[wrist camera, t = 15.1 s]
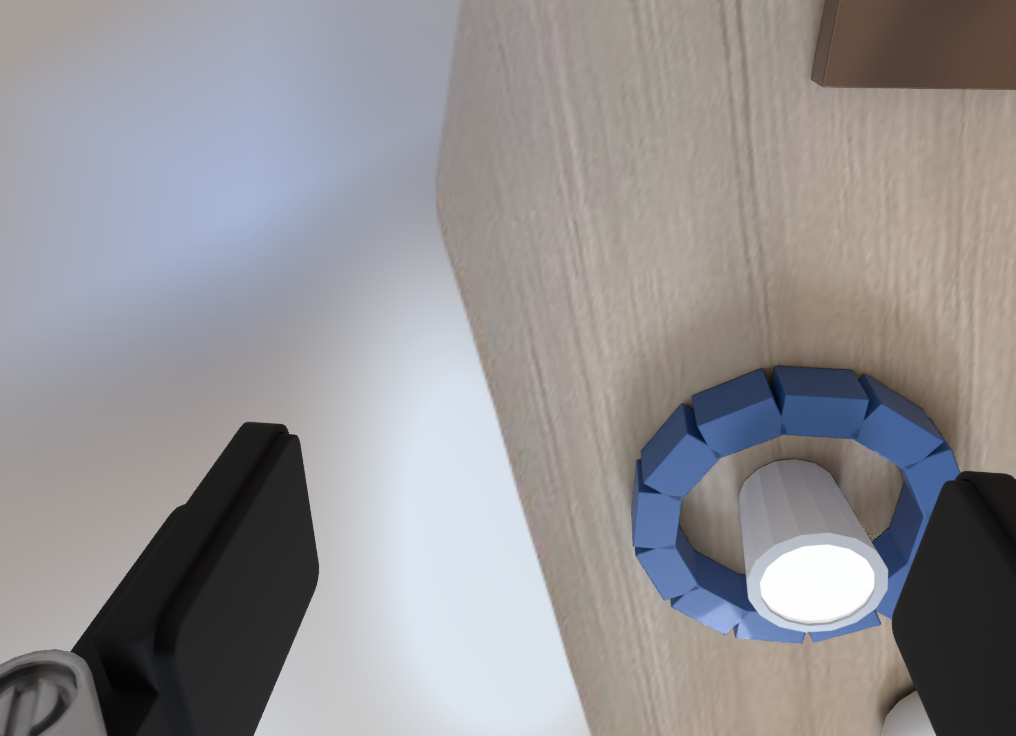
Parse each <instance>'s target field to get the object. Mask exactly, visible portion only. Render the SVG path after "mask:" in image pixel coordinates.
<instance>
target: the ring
mask: <svg viewBox="0 0 1016 736" xmlns="http://www.w3.org/2000/svg"><path fill="white" fill-rule="evenodd" d="M692 401H693V406H694V410H693V409H691V408H689V407H688V406H686V405H684V404H681V405H680V407H679V408H678V409H677V410H676V411H675V412H674V414H673V415H672V416H671V417H670V418H669V419H668V421H667V422H666V423H665V424H664V425H663V426H662V428H661V429H660V430H659V431H658V432H657V433H656V435H655V436H654V437H653V438H652V439H651V440H650V442H649V443H648V444H647V445H646V446H645V447H644V449H643V450H642V451H641V459H642V461H641V460H637V461H636V471H635V481H634V491H633V501H632V511H631V517H632V540H633V547H635V556H636V557H637V559H638V560H639V562H640V563H641V565H642V567H643V568H644V570H645V571H646V573H647V575H648V576H649V578H650V579H651V581H652V582H653V584H654V586H655V587H656V589H657V590H658V592H659V593H660V595H661V597H662V598H663V600H667V599H670V600H671V607H672V608H674V609H676V610H678V611H680V612H682V613H684V614H685V615H687V616H689V617H691V618H693V619H695V620H697V621H699V622H701V623H703V624H705V625H707V626H708V627H710V628H712V629H714V630H716V631H718V632H720V633H722V634H724V635H726V634H727V633H728V632H729V631H730V630H731V629H732V628H734V634H735V638H742V639H754V640H765V641H777V642H788V643H800V644H802V643H803V639H804V636H805V632H801V631H796V630H791V629H787V628H782V627H779V626H777V625H776V624H774V623H772V622H770V621H769V620H767V619H765V618H764V617H762V616H760V615H759V613H758V612H757V610H756V609H755V608H754V606H753V605H752V603H751V602H750V601H749V599H748V590H747V580H746V575H738V574H736V573H735V572H733V571H731V570H729V569H727V568H725V567H723V566H722V565H720V564H718V563H716V562H714V561H712V560H710V559H709V558H707V557H705V556H703V555H701V554H699V553H697V552H696V551H694V550H693V548H692V546H691V545H690V543H689V541H688V539H687V538H686V536H685V534H684V533H683V531H682V529H681V528H680V526H679V518H680V511H681V504H682V498H683V497H684V496H685V495H686V494H687V493H688V492H689V491H690V490H691V489H692V488H693V487H694V486H695V485H696V483H697V482H698V481H699V480H700V479H701V478H702V477H703V476H704V475H705V474H706V473H707V472H708V471H709V470H710V469H711V467H712V466H713V465H714V464H715V463H716V462H717V461H718V460H719V459H720V458H722V457H725V456H727V455H730V454H733V453H735V452H738V451H741V450H744V449H746V448H749V447H752V446H754V445H757V444H760V443H763V442H765V441H768V440H771V439H774V438H776V437H779V436H782V435H796V436H813V437H829V438H846V439H854V440H855V441H857V442H859V443H860V444H862V445H864V446H865V447H867V448H869V449H871V450H872V451H874V452H876V453H877V454H879V455H881V456H882V457H884V458H886V459H887V460H889V461H891V462H893V463H894V464H896V465H898V468H899V470H900V473H901V475H902V477H903V480H904V485H903V488H902V491H901V495H900V498H899V501H898V504H897V507H896V510H895V513H894V516H893V519H892V523H891V526H890V528H889V529H888V530H887V531H885V532H884V533H883V534H882V535H881V536H880V537H878V538H877V539H876V540H875V541H874V542H872V544H873V545H874V547H875V549H876V550H877V552H878V554H879V555H880V557H881V559H882V560H883V562H884V564H885V565H886V567H887V569H888V590H887V591H886V593H885V595H884V596H883V598H882V600H881V601H880V603H879V604H878V606H877V608H876V609H874V610H873V611H871V612H870V613H869V614H867V615H866V616H865V617H863V618H862V619H860V620H859V621H858V622H856V623H853V624H850V625H847V626H844V627H841V628H838V629H835V630H832V631H819V632H808V633H809V635H810V637H811V639H812V640H813V642H818V641H822V640H826V639H830V638H833V637H837V636H841V635H844V634H848V633H852V632H856V631H859V630H863V629H867V628H870V627H874V626H878V625H881V622H880V620H879V617H878V615H877V612H879V613H880V614H882V615H884V616H886V617H888V618H889V619H892V615H893V612H894V609H895V606H896V604H897V601H898V598H899V596H900V593H901V591H902V588H903V586H904V583H905V580H906V578H907V575H908V573H909V570H910V568H911V565H912V562H913V560H914V557H915V555H916V552H917V550H918V547H919V544H920V542H921V539H922V537H923V534H924V532H925V529H926V526H927V524H928V521H929V519H930V516H931V514H932V511H933V508H934V506H935V503H936V501H937V498H938V496H939V493H940V490H941V488H942V486H943V484H944V483H945V482H946V481H949V480H955V479H956V477H957V476H958V475H959V474H960V470H959V467H958V465H957V462H956V459H955V457H954V454H953V451H952V449H951V448H950V446H949V445H948V443H947V442H946V440H945V439H944V437H943V436H942V434H941V433H940V432H939V430H938V429H937V427H936V426H935V424H934V423H933V421H932V420H931V419H930V418H928V417H927V415H926V414H925V412H924V411H923V409H921V408H920V407H918V406H916V405H915V404H913V403H912V402H910V401H908V400H907V399H905V398H903V397H902V396H900V395H898V394H897V393H895V392H894V391H892V390H890V389H889V388H887V387H885V386H884V385H882V384H880V383H879V382H877V381H876V380H874V379H872V378H871V377H869V376H867V375H866V374H864V375H863V376H862V377H861V378H860V379H859V380H858V379H857V378H856V376H855V374H854V372H853V371H852V370H838V369H819V368H799V367H780V366H775V367H774V372H773V377H772V382H771V386H770V384H769V382H768V380H767V378H766V376H765V373H764V371H763V369H759V370H757V371H754V372H752V373H749V374H747V375H744V376H742V377H739V378H737V379H734V380H732V381H729V382H727V383H724V384H722V385H719V386H717V387H714V388H712V389H709V390H707V391H704V392H702V393H699V394H697V395H694V396H692ZM876 611H877V612H876Z"/></svg>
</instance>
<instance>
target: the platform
mask: <svg viewBox="0 0 1016 736" xmlns="http://www.w3.org/2000/svg"><path fill="white" fill-rule="evenodd" d="M811 80H812V81H814V82H815V83H817V84H818V85H820V86H822V87H835V88H910V89H985V90H1016V0H825V5H824V11H823V16H822V22H821V27H820V33H819V38H818V44H817V49H816V55H815V60H814V66H813V71H812V77H811Z"/></svg>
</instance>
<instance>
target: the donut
mask: <svg viewBox="0 0 1016 736" xmlns="http://www.w3.org/2000/svg"><path fill="white" fill-rule="evenodd" d="M880 736H936V734H935V732H934V730H933V727H932V725H931V723H930V720H929V718H928V716H927V713H926V711H925V709H924V706H923V704H922V702H921V699H920V697H919V695H918V692H917V690H916V691H914V692H913V693H911V694H910V695H908V696H906V697H905V698H903V699H901V700H900V701H899V702H898V703H897V704H896V705H895V706H894V708H893V709H892V710H891V711H890V712H889V713H888V714H887V716H886V718H885V721H884V724H883V727H882V731H881V735H880Z"/></svg>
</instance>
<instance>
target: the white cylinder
mask: <svg viewBox="0 0 1016 736" xmlns="http://www.w3.org/2000/svg"><path fill="white" fill-rule="evenodd" d="M738 497H739V507H740V518H741V528H742V538H743V549H744V559H745V569H746V580H747V590H748V599H749V601H750V602H751V603H752V605H753V606H754V608H755V609H756V610H757V612H758V613H759V615H760V616H762V617H764V618H765V619H767V620H769V621H770V622H772V623H774V624H776V625H777V626H779V627H782V628H787V629H791V630H796V631H801V632H819V631H832V630H835V629H838V628H841V627H844V626H847V625H850V624H853V623H856V622H858V621H859V620H860V619H862V618H863V617H865V616H866V615H867V614H869V613H870V612H871V611H873V610H874V609H876V608H877V606H878V604H879V603H880V601H881V600H882V598H883V596H884V595H885V593H886V591H887V590H888V569H887V567H886V565H885V564H884V562H883V560H882V559H881V557H880V555H879V554H878V552H877V550H876V549H875V547H874V545H873V544H872V542H871V540H870V539H869V537H868V535H867V534H866V532H865V530H864V529H863V527H862V525H861V524H860V522H859V521H858V519H857V517H856V516H855V514H854V512H853V511H852V509H851V507H850V506H849V504H848V502H847V501H846V499H845V497H844V496H843V494H842V492H841V491H840V489H839V487H838V486H837V484H836V482H835V481H834V479H833V477H832V476H831V474H830V473H829V472H828V471H826V470H825V469H823V468H822V467H820V466H819V465H817V464H816V463H812V462H807V461H803V460H798V459H791V460H782V461H775V462H772V463H770V464H768V465H766V466H763V467H761V468H759V469H757V470H756V471H755V472H754V473H753V474H752V475H751V476H749V477H748V478H747V479H746V480H745V481H744V484H743V486H742V488H741V491H740V493H739V495H738Z"/></svg>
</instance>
